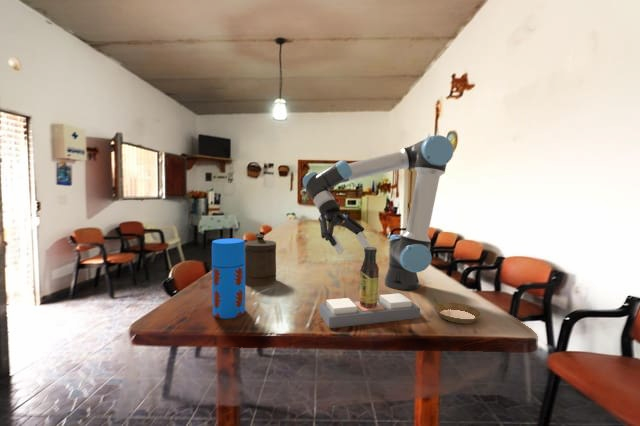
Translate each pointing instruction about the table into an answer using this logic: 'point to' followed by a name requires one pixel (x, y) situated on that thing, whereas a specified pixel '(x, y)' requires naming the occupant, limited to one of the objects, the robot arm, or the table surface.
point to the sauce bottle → (369, 279)
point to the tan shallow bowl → (457, 306)
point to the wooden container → (260, 262)
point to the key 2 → (395, 301)
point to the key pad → (367, 315)
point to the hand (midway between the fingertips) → (355, 250)
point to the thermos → (228, 278)
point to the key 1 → (341, 306)
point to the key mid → (363, 309)
